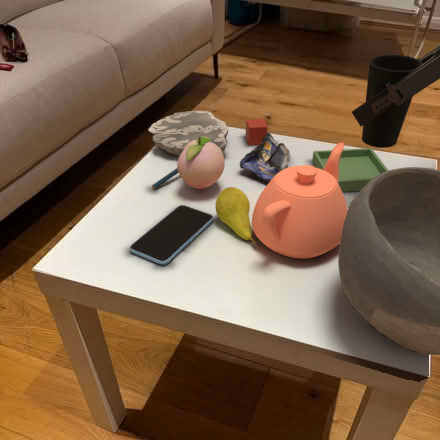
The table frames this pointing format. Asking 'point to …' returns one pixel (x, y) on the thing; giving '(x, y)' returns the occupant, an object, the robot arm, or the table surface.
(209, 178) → the decorative fruit
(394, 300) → the bowl
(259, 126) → the red block
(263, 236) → the teapot
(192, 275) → the table surface
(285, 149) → the snack package
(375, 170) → the green tray
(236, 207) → the fruit
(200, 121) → the brain slice
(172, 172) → the pencil
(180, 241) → the smartphone
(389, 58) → the cup
